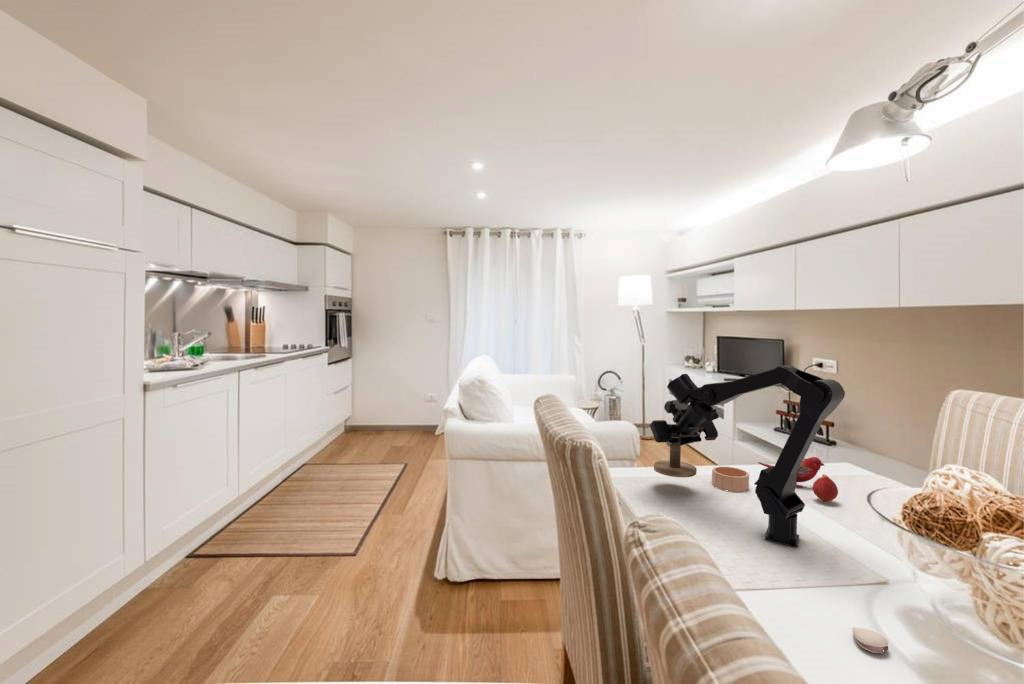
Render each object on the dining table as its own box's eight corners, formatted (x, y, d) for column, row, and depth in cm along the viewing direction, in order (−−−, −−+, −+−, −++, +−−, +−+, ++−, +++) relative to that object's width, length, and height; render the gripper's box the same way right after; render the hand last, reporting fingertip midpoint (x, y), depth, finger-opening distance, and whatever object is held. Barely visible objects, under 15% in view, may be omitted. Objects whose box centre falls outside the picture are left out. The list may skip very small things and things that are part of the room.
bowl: (745, 494, 132) (746, 479, 132) (709, 487, 138) (709, 472, 138) (750, 484, 140) (751, 470, 140) (715, 478, 146) (716, 464, 146)
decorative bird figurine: (824, 492, 134) (826, 459, 134) (757, 483, 142) (758, 451, 141) (823, 489, 137) (824, 456, 136) (756, 480, 144) (757, 449, 144)
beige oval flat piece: (871, 659, 68) (872, 643, 68) (841, 636, 73) (842, 621, 73) (895, 655, 69) (895, 639, 68) (863, 633, 73) (864, 618, 73)
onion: (829, 498, 129) (830, 471, 129) (842, 507, 124) (843, 478, 123) (808, 498, 130) (809, 470, 130) (819, 506, 124) (820, 477, 124)
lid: (690, 480, 126) (691, 440, 126) (648, 472, 133) (649, 434, 133) (700, 469, 136) (701, 432, 136) (660, 461, 143) (661, 426, 143)
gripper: (713, 391, 131) (691, 421, 143) (653, 393, 128) (635, 423, 140) (729, 424, 124) (705, 452, 135) (667, 426, 121) (647, 455, 132)
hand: (672, 444), depth 136 cm, fingers closed on lid, 3 cm apart
